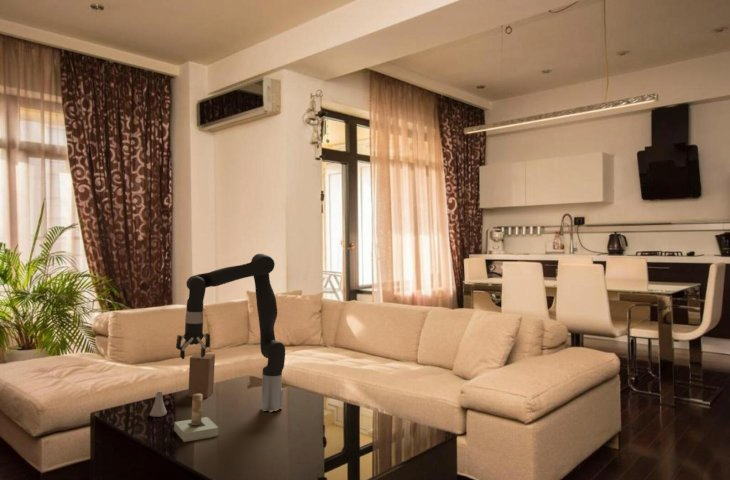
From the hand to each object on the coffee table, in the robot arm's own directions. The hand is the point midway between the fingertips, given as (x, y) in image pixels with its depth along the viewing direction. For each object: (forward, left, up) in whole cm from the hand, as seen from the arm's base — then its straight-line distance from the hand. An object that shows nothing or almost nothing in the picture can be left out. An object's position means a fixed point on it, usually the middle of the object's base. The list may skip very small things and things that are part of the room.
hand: (192, 357), depth 240 cm
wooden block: (-16, -34, -28) cm, 47 cm away
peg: (+2, +15, -28) cm, 32 cm away
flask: (+10, -14, -28) cm, 33 cm away
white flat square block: (+2, +15, -28) cm, 32 cm away
